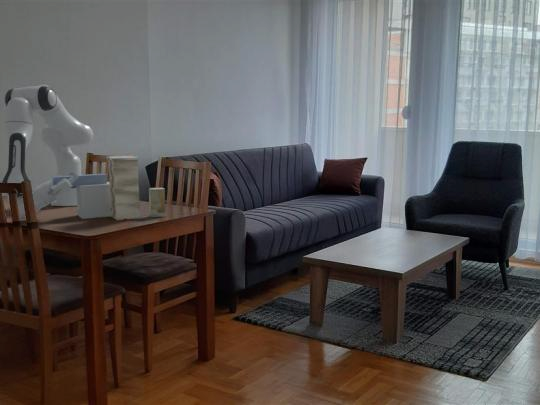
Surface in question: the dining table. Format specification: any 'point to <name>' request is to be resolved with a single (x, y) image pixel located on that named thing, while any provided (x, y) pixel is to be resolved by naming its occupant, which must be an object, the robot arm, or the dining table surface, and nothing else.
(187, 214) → the dining table surface
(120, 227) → the dining table surface
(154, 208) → the skincare box
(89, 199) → the low block
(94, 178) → the bar
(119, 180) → the pedestal
